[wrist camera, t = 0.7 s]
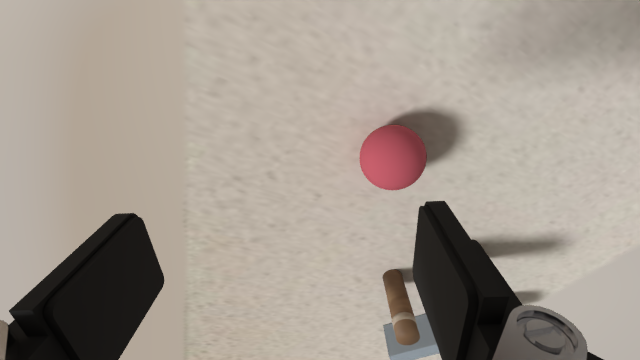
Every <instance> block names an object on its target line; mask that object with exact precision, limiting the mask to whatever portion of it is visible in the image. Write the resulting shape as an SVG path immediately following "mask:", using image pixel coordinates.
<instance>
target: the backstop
mask: <svg viewBox="0 0 640 360" xmlns="http://www.w3.org/2000/svg"><path fill="white" fill-rule="evenodd" d="M415 319H416V323H417V328H418V331H419V334H420V339H419V341H418V342H417V343H415V344H413V345H401V344H399V343H398V342H397V340H396V336H395V331H394V329H393V324H392V323H391V324H387V325H383V327H384V332H385V338H386V343H387V348H388V354H389V357H390V359H391V360H414V359H418V358H422V357H426V356H430V355H434V354H438V353H440V352H439V349H438V346H437V343H436V341H435V338H434V335H433V332H432V329H431V326H430V324H429V321H428V318H427V315H426V314H423V315H420V316H416V317H415Z"/></svg>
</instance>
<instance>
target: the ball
mask: <svg viewBox="0 0 640 360" xmlns="http://www.w3.org/2000/svg"><path fill="white" fill-rule="evenodd" d="M426 158H427V155H426V149H425V146H424V143H423V142H422V140H421V138H420V137H419V136H418V135H417V134H416V133H415V132H414V131H412V130H411V129H409V128H407V127H404V126H401V125H387V126H383V127H380V128H378V129H376V130H375V131H373V132H372V133H371V134H370V135H369V136H368V137H367V138H366V139H365V141H364V143H363V145H362V147H361V151H360V165H361V169H362V171H363V173H364V175H365V176H366V178H367V179H368V180H369V181H370V182H371V183H372V184H374V185H376V186H377V187H379V188H382V189H386V190H399V189H403V188H406V187H408V186H410V185H411V184H413V183H414V182H415V181H416V180H417V179H418V178H419V177H420V176H421V174H422V173H423V171H424V168H425V165H426Z"/></svg>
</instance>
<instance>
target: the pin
mask: <svg viewBox="0 0 640 360" xmlns="http://www.w3.org/2000/svg"><path fill="white" fill-rule="evenodd" d="M383 281H384V286H385V290H386V295H387V299H388V304H389V308H390V313H391V317H392V324H393V329H394V331H395V336H396V340H397V342H398V343H399V344H401V345H413V344H415V343H417V342H418V341H419V339H420V334H419V331H418V328H417V323H416V319H415V317H414V314H413V311H412V307H411V304H410V301H409V297H408V294H407V291H406V287H405V284H404V281H403V277H402V274H401V273H400V272H399V271H397V270H389V271H387V272H385V273H384V275H383Z"/></svg>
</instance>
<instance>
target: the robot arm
mask: <svg viewBox="0 0 640 360" xmlns="http://www.w3.org/2000/svg"><path fill="white" fill-rule="evenodd" d="M413 277H414V281H415V284H416V287H417V289H418V292H419V295H420V298H421V301H422V304H423V306H424V309H425V312H426V315H427V318H428V321H429V324H430V326H431V329H432V332H433V335H434V338H435V341H436V343H437V346H438V349H439V352H440V355H441V358H442V360H603V359H601V358H599V357H597V356H595V355H593V354H591V353H590V352H588V350H587V344H586V340H585V338H584V337H583V335H582V333H581V332H580V331H579V330H578V329H577V328H576V326H575V325H574V324H573V323H571V322H570V321H569V320H567V319H566V318H565V317H563V316H562V315H560V314H558V313H556V312H554V311H552V310H550V309H546V308H543V307H540V306H534V305H522V304H521V302H520V301H519V299H518V298H517V296H516V295H515V294H514V292H513V291H512V289H511V288H510V287H509V285H508V284H507V282H506V281H505V279H504V278H503V277H502V275H501V274H500V272H499V271H498V269H497V268H496V267H495V265H494V264H493V262H492V261H491V260H490V258H489V257H488V255H487V254H486V252H485V251H484V250H483V248H482V247H481V245H480V244H479V243H478V242H477V241H476V240H471V239H470V237H469V236H468V234H467V233H466V231H465V230H464V229H463V227H462V226H461V224H460V223H459V221H458V220H457V218H456V217H455V215H454V214H453V212H452V211H451V209H450V208H449V206H448V205H447V204H446V202H445V201H430V202H426V203H425V206H420V208H419V214H418V223H417V233H416V242H415V252H414V261H413ZM163 284H164V276H163V273H162V270H161V268H160V265H159V262H158V259H157V257H156V254H155V251H154V249H153V246H152V243H151V241H150V238H149V235H148V232H147V230H146V227H145V224H144V222H143V220H142V219H141V218H140V217H138V216H137V215H136V214H134V213H130V214H129V213H128V214H115V215H114V216H112V217H111V218H110V219H109V220H108V221H107V222H106V223H104V224H103V225H102V226H101V227H100V228H99V229H98V230H97V231H96V232H95V233H94V234H92V235H91V236H90V237H89V238H88V239H87V240H86V241H85V242H84V243H83V244H81V245H80V246H79V247H78V248H77V249H76V250H75V251H74V252H73V253H72V254H71V255H69V256H68V257H67V258H66V259H65V260H64V261H63V262H62V263H61V264H60V265H58V266H57V267H56V268H55V269H54V270H53V271H52V272H51V273H50V274H49V275H48V276H46V277H45V278H44V279H43V280H42V281H41V282H40V283H39V284H38V285H37V286H36V287H35V288H33V289H32V290H31V291H30V292H29V293H28V294H27V295H26V296H25V297H24V298H23V299H21V300H20V301H19V302H18V303H17V304H16V305H15V306H14V307H13V308H11V309H10V310H9V312H10V313H11V315H12V316H13V318H14V319H15V320H14V321H13V322H12V323H11V324H10V325H8V324H7V323H6V322H4V321H2V320H0V360H118V359H119V358H120V356H121V355H122V353H123V351H124V350H125V348H126V346H127V345H128V343H129V341H130V340H131V338H132V337H133V335H134V333H135V332H136V330H137V328H138V327H139V325H140V323H141V322H142V320H143V319H144V317H145V315H146V313H147V312H148V310H149V309H150V307H151V305H152V304H153V302H154V300H155V299H156V297H157V295H158V294H159V292H160V291H161V289H162V287H163Z"/></svg>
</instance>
